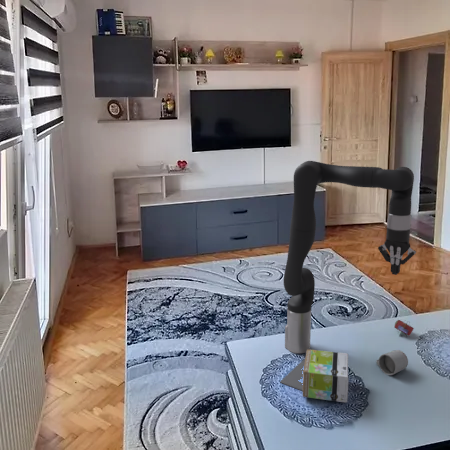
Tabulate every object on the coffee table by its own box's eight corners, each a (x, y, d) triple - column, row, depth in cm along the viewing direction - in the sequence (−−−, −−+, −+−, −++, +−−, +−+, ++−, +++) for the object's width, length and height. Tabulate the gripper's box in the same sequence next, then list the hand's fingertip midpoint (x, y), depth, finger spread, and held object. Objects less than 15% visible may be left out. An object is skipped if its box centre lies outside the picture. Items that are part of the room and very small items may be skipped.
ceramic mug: (409, 371, 179) (410, 352, 177) (395, 379, 174) (396, 359, 172) (384, 359, 187) (385, 341, 185) (370, 366, 183) (371, 348, 181)
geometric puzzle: (418, 329, 205) (407, 313, 205) (415, 336, 199) (404, 319, 200) (403, 335, 209) (393, 319, 209) (400, 342, 203) (389, 326, 204)
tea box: (349, 376, 157) (302, 371, 161) (347, 403, 160) (302, 398, 163) (348, 352, 172) (305, 348, 175) (347, 377, 174) (305, 373, 178)
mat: (279, 382, 174) (279, 381, 174) (306, 357, 189) (306, 356, 189) (315, 396, 166) (315, 395, 166) (340, 369, 181) (340, 368, 181)
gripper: (375, 226, 168) (372, 273, 173) (415, 231, 160) (411, 281, 165) (383, 221, 174) (380, 267, 178) (421, 226, 166) (417, 274, 171)
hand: (395, 273), depth 172 cm, fingers closed
